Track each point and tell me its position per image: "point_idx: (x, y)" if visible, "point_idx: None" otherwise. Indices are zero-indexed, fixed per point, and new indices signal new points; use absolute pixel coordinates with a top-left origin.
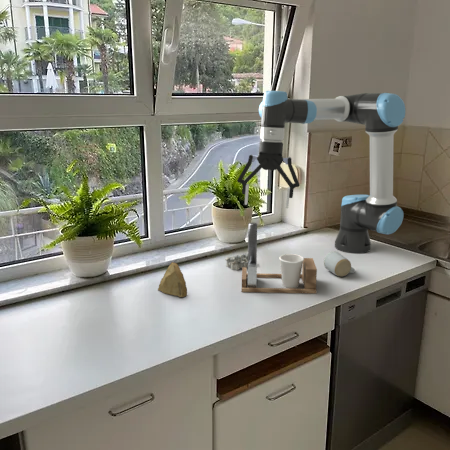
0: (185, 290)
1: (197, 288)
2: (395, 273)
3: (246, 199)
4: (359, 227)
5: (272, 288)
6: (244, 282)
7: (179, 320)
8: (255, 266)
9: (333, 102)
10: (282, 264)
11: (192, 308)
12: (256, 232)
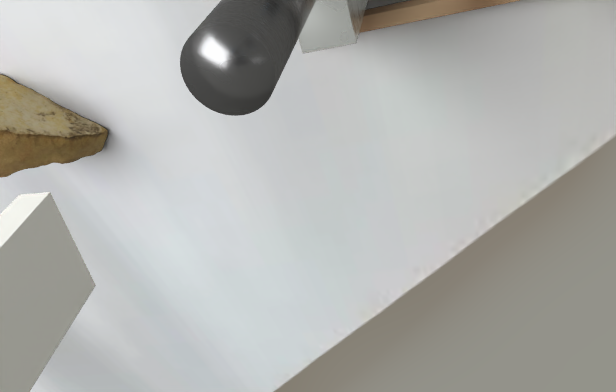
0: (92, 141)
1: (102, 48)
2: None
3: (50, 341)
4: None
5: (458, 1)
6: None
7: (188, 278)
8: (346, 36)
9: None
10: None
11: (183, 210)
12: (291, 51)
